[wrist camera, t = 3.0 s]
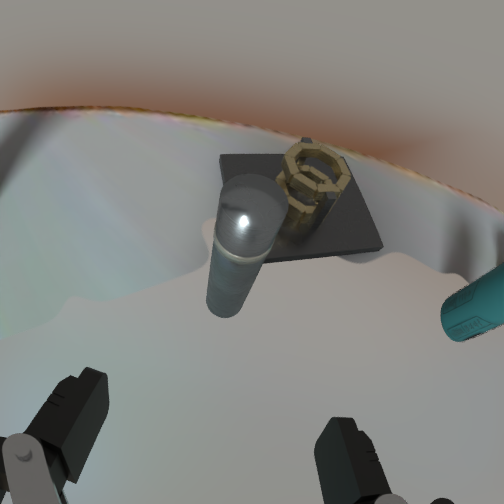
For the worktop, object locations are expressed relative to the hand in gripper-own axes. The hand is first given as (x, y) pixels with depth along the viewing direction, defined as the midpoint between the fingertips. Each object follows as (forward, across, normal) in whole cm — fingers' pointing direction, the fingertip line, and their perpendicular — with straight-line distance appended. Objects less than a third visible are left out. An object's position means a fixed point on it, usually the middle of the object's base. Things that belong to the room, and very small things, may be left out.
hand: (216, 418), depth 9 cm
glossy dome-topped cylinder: (+20, 0, +5) cm, 20 cm away
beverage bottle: (+21, -29, +4) cm, 36 cm away
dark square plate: (+30, -6, -5) cm, 31 cm away
